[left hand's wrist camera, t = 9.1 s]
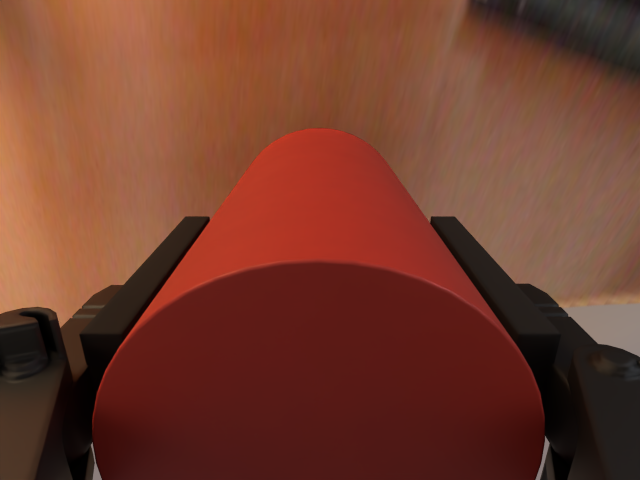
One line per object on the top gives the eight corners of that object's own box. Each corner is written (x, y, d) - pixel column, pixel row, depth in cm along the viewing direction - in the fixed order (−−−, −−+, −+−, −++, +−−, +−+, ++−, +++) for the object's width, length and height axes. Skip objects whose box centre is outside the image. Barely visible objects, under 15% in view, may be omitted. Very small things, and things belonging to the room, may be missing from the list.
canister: (218, 250, 20) (53, 544, 7) (271, 100, 17) (155, 175, 5) (359, 302, 21) (416, 635, 8) (428, 166, 18) (645, 363, 6)
